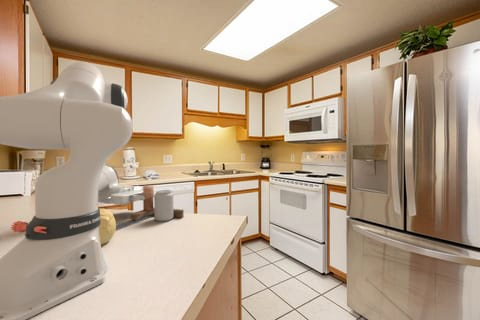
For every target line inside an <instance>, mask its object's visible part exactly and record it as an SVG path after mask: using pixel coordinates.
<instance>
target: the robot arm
mask: <svg viewBox="0 0 480 320" xmlns="http://www.w3.org/2000/svg"><path fill="white" fill-rule="evenodd" d="M125 90H126V89H125V88H124V87H123V86H122V85H120V84H117V83H110V82H109V83H108V82H105V78H104V76H103V73H102V72H101V70H100V69H99V68H98V67H96V66H95V65H94V64H93V63H90V62H87V61H76V62H74V63H71V64H69V65H67V66H65V68H64V69H63V70H61V73H60V74H59V75H58V77H56V78H55V79H53V80H52V81H51V82H50V84H49V85H46V86H43V87H40V88H38V89H35V90H32V91H31V90H30V91H27V92H24V93H19V94H18V93H17V94H12V95H6V96H5V95H4V96H0V145H3V146H4V145H5V146H9V147H15V148H22V149H28V150H68V151H70V155H69V156H68V159H67V160H66V161H65V162H64V163H60V164H59V165H56V166H53V167H51V168H49V169H47V170H45V171H43V172H42V173H41V174H40V175H39V176H38V177H37V178H36V181H35V183H34V206H35V207H34V209H35V210H34V212H35V213H34V214H35V215H34V216H32V219H31V220H30V221H29V222H27V221H20V220H18V221H15V222H13V223H12V224H11V227H10V229H11V231H13V232H15V233H16V232H17V233H25V234H24V238H22V239H21V241H20V242H18V243H17V244H16V245H15V246H13V247H12V248H11V249H10V250H9V251H8V252H6V253H5V254H3V256H2V257H0V320H27V319H30V318H32V317H34V316H36V315H37V314H38V315H39V314H40V313H42V312H44V311H46V310H48V309H51V308H53V307H55V306H57V305H59V304H61V303H63V302H65V301H67V300H70V299H72V298H73V297H76V296H77V295H80V294H82V293H84V292H86V291H89V290H90V289H92V288H94V287H97V286H99V285H100V284H103V283H104V282H105V280H106V279H105V273H106V271H107V268H108V266H107V263H106V261H105V257H104V255H103V250H102V245H101V244H100V236H99V225H100V219H101V218H100V209H101V208H99V204H108V205H111V204H112V205H117V206H128V205H129V204H131V203H134V202H138V201H143V200H145V199H146V198H145V197H146V196H143V187H142V186H140V185H127V184H120V181H119V175H118V172H117V170H116V169H115V168H114V167H113V166H110V165H108V164H107V162H108V161H109V159H110V158H111V157H112V156H113V155H114V154H115V153H116V152H117V151H119V150H120V149H122V148H124V146H126V145H127V144H128V142H129V141H130V140H131V139H132V138H131V137H132V135H133V132H134V131H133V130H134V124H133V119H132V117H131V115H130V114H129V111H127V110H126V109H127V107H128V102H129V101H128V100H129V99H128V95H127V92H126V91H125ZM154 195H155V189H154V188H153V198H154Z"/></svg>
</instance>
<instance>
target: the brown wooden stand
mask: <svg viewBox="0 0 480 320" xmlns="http://www.w3.org/2000/svg"><path fill="white" fill-rule="evenodd" d="M153 189H154V185H143V196H146V197H145V198H146V199H145V200H142V202H143V203H142V205H143V209H142V210H138V211H136V212H132V213H130V214H129V220H137V219H140V218H143V217H146V216H148V215H151V214H154V197H153ZM184 211H185V210H184V209H179V208H177V209H176V208H173V218H184V217H185V215H184V214H185V212H184Z"/></svg>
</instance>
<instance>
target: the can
mask: <svg viewBox="0 0 480 320" xmlns="http://www.w3.org/2000/svg"><path fill="white" fill-rule="evenodd" d="M155 192H156V193H154V197H153V207H154V215H155V216H154V220H156V221H157V222H168V221H172V219H173V218H174V217H173V209H174V193H172V192H173V190H170V189H161V190H157V191H155Z"/></svg>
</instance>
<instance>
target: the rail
mask: <svg viewBox="0 0 480 320" xmlns="http://www.w3.org/2000/svg"><path fill="white" fill-rule="evenodd" d="M153 217H155V215H154V214H151V215H148V216H146V217H143V218H140V219H137V220H131V219H129V220H127V221H123V222H121V223H118V224H116V229H115V232H116V231H118V230H121V229H124V228H127V227H129V226H132V225H134V224H137V223H140V222H143V221H145V220H148V219H150V218H153Z"/></svg>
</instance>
